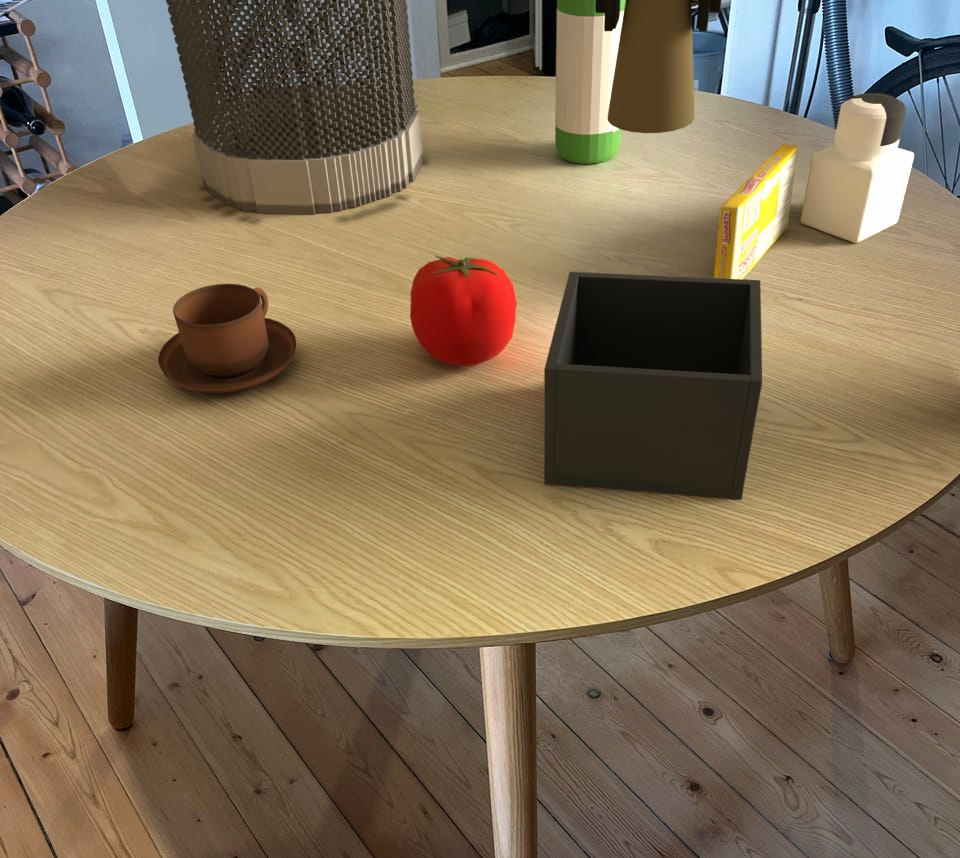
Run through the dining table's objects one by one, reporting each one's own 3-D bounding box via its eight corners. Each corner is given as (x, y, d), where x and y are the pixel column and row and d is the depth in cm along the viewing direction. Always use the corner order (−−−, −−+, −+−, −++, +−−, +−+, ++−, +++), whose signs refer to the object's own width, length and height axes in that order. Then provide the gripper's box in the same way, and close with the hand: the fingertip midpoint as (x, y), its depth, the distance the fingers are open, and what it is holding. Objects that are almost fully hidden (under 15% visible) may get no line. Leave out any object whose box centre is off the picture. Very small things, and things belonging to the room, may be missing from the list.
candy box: (767, 225, 107) (781, 142, 101) (787, 229, 106) (802, 145, 100) (708, 291, 97) (719, 203, 91) (730, 295, 96) (742, 207, 90)
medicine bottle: (841, 203, 110) (866, 82, 101) (898, 223, 106) (930, 98, 97) (798, 223, 107) (821, 100, 98) (856, 245, 103) (884, 118, 94)
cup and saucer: (192, 332, 96) (175, 268, 91) (315, 337, 94) (304, 273, 89) (142, 401, 87) (121, 336, 83) (276, 409, 86) (262, 342, 81)
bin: (742, 392, 85) (760, 279, 78) (741, 499, 75) (762, 381, 68) (567, 381, 87) (569, 271, 80) (543, 484, 77) (544, 368, 70)
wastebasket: (436, 131, 129) (416, -167, 108) (397, 215, 112) (364, -121, 91) (244, 130, 133) (189, -161, 111) (177, 211, 115) (96, -116, 94)
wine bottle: (542, 151, 123) (544, -162, 102) (597, 137, 126) (609, -171, 105) (576, 172, 119) (586, -152, 97) (632, 157, 121) (653, -162, 100)
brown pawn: (708, 109, 71) (728, -80, 64) (673, 138, 68) (688, -58, 60) (630, 97, 74) (639, -86, 66) (592, 125, 70) (596, -65, 63)
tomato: (472, 394, 86) (467, 300, 80) (386, 356, 91) (375, 266, 85) (541, 348, 91) (541, 257, 85) (455, 315, 96) (450, 227, 90)
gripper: (510, -349, 53) (518, 42, 66) (854, -371, 50) (792, 43, 63) (533, -355, 58) (537, 9, 71) (846, -375, 55) (790, 9, 68)
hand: (657, 22), depth 67 cm, fingers closed on brown pawn, 5 cm apart
